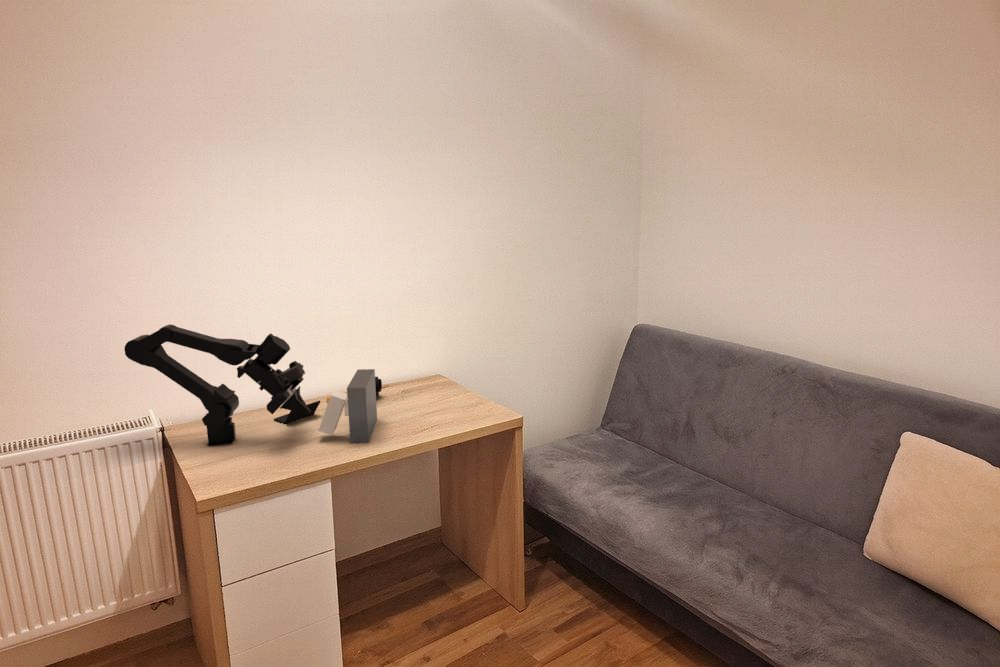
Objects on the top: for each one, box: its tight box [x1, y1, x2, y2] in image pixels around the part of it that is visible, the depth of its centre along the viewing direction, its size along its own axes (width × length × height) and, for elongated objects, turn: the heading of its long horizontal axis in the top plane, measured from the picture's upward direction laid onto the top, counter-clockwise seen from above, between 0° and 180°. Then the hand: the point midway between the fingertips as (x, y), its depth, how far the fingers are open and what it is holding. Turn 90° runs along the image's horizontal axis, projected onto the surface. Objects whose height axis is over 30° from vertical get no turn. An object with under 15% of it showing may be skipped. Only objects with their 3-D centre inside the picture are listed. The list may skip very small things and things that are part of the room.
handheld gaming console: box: [273, 400, 322, 425], centre depth 197 cm, size 12×7×10 cm
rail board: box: [343, 368, 378, 444], centre depth 186 cm, size 6×18×16 cm, turn 3°
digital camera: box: [375, 376, 383, 400], centre depth 213 cm, size 10×5×7 cm, turn 177°
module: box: [317, 389, 348, 436], centre depth 180 cm, size 5×5×11 cm
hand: (309, 413), depth 180 cm, fingers closed
